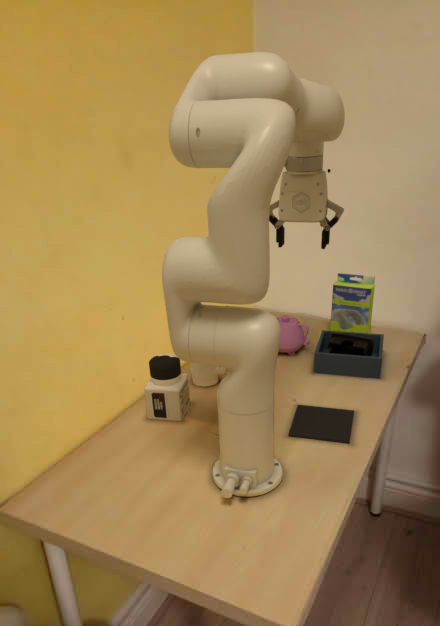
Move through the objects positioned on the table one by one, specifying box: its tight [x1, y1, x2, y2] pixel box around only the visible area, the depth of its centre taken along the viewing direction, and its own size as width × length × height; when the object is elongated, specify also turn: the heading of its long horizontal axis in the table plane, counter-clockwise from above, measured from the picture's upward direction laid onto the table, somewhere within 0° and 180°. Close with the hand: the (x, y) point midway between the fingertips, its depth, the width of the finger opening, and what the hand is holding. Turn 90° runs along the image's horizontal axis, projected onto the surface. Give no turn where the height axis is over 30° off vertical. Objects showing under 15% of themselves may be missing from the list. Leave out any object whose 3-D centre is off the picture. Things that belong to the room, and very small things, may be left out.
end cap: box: [327, 332, 374, 356], centre depth 134 cm, size 10×7×7 cm
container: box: [143, 353, 191, 422], centre depth 115 cm, size 8×8×13 cm
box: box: [329, 272, 376, 333], centre depth 145 cm, size 10×4×17 cm, turn 64°
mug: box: [190, 362, 228, 388], centre depth 127 cm, size 10×7×12 cm, turn 61°
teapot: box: [276, 314, 311, 356], centre depth 142 cm, size 10×15×9 cm
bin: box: [313, 329, 385, 380], centre depth 134 cm, size 15×16×5 cm
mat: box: [287, 404, 355, 445], centre depth 111 cm, size 12×12×1 cm
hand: (302, 246), depth 121 cm, fingers open, 9 cm apart
